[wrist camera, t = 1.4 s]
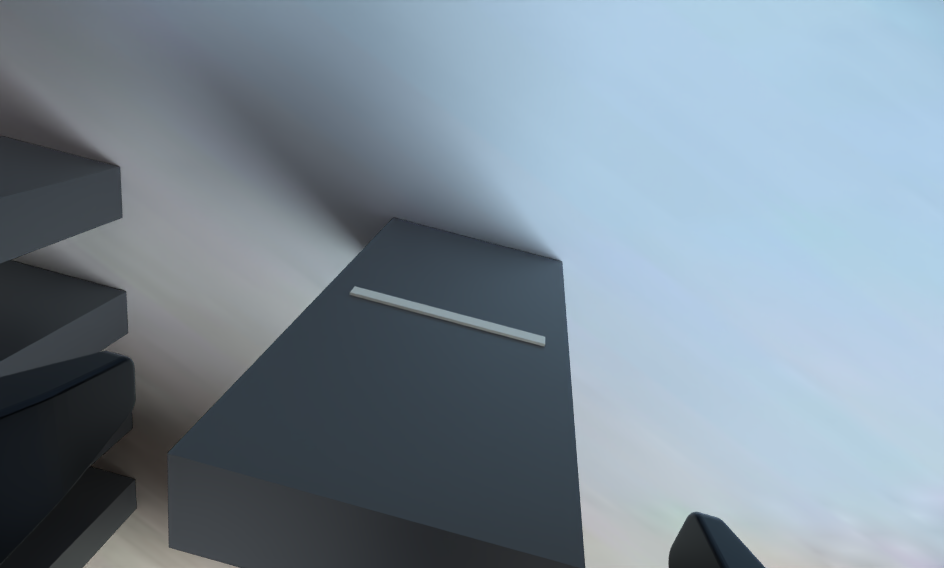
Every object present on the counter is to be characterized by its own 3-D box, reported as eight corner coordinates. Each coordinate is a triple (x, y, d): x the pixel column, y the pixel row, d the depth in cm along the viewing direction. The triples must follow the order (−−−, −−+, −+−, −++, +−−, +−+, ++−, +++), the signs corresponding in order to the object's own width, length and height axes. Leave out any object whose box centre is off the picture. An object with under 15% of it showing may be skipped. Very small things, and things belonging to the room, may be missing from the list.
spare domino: (546, 311, 16) (544, 656, 7) (384, 269, 16) (168, 550, 7) (562, 259, 15) (586, 565, 6) (394, 215, 15) (167, 449, 6)
